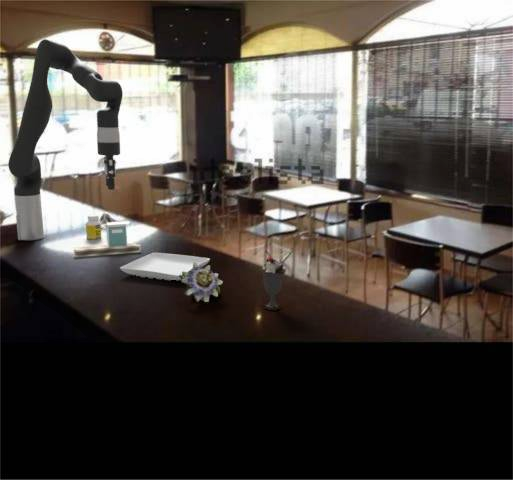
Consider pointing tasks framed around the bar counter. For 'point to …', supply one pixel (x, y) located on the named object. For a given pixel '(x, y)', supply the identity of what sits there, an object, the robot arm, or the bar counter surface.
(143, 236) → the bar counter surface
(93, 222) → the supplement bottle
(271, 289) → the sundae
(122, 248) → the shelf board
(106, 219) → the cloth
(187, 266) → the salad plate
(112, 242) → the carton
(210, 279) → the passion flower
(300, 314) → the bar counter surface
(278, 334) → the bar counter surface
